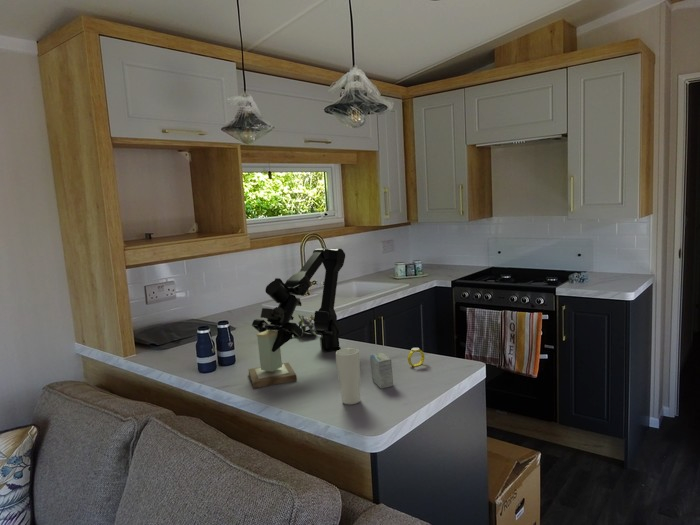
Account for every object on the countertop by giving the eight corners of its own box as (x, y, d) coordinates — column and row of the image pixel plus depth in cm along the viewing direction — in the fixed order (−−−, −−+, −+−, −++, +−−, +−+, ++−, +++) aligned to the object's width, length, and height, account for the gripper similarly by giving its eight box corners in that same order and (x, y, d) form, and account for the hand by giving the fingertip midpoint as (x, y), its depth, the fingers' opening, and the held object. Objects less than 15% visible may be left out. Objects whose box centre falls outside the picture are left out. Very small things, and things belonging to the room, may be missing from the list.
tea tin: (271, 364, 181) (267, 330, 180) (282, 366, 178) (279, 331, 177) (260, 369, 177) (256, 334, 175) (272, 371, 174) (268, 335, 172)
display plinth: (288, 367, 187) (288, 361, 186) (296, 380, 173) (296, 373, 173) (249, 374, 183) (248, 368, 183) (253, 388, 170) (253, 381, 169)
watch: (412, 369, 176) (409, 352, 176) (407, 367, 179) (405, 350, 178) (426, 364, 179) (424, 347, 178) (421, 362, 182) (419, 345, 181)
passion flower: (314, 347, 228) (320, 328, 220) (289, 346, 224) (295, 327, 217) (311, 327, 236) (317, 309, 229) (287, 327, 233) (292, 307, 225)
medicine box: (393, 386, 162) (392, 359, 161) (380, 389, 161) (378, 361, 159) (384, 378, 169) (383, 352, 168) (371, 380, 168) (369, 354, 167)
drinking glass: (336, 405, 151) (331, 354, 149) (344, 396, 157) (340, 347, 155) (358, 407, 148) (354, 355, 146) (366, 397, 155) (362, 348, 153)
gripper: (252, 296, 183) (232, 336, 176) (293, 299, 173) (274, 341, 165) (270, 313, 191) (251, 351, 183) (311, 316, 180) (293, 358, 173)
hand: (266, 350), depth 176 cm, fingers closed on tea tin, 5 cm apart
